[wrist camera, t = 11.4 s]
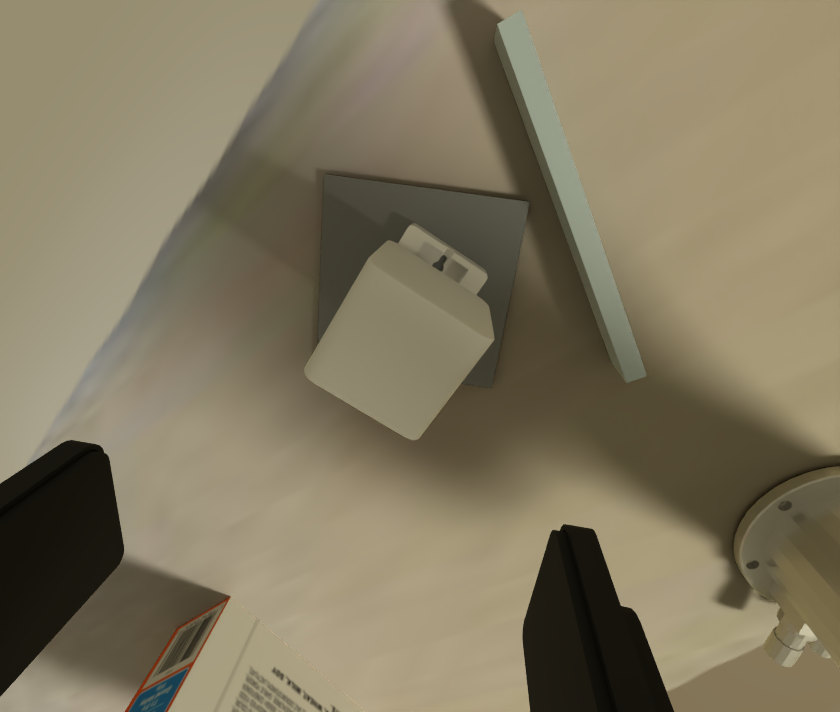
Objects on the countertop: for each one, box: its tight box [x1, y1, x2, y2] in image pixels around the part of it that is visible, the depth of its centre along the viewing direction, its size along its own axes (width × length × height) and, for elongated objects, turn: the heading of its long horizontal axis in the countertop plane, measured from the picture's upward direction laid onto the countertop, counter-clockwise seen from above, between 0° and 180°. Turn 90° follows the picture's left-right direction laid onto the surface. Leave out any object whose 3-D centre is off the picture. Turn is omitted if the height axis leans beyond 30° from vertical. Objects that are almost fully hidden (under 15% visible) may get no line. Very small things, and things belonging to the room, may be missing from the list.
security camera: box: [304, 223, 495, 440], centre depth 24 cm, size 6×7×10 cm
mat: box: [318, 174, 530, 388], centre depth 29 cm, size 12×12×1 cm
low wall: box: [494, 10, 647, 383], centre depth 25 cm, size 20×1×3 cm, turn 26°
